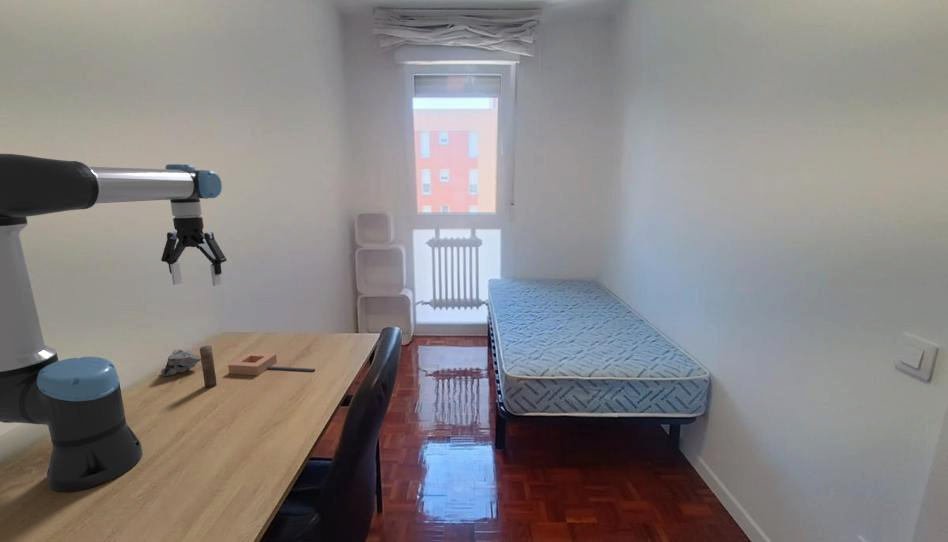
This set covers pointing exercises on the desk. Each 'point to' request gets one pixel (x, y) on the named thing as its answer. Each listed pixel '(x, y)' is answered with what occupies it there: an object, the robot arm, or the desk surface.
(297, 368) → the strip
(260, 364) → the pink square frame
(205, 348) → the dowel
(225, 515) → the desk surface
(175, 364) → the mineral specimen
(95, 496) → the desk surface
